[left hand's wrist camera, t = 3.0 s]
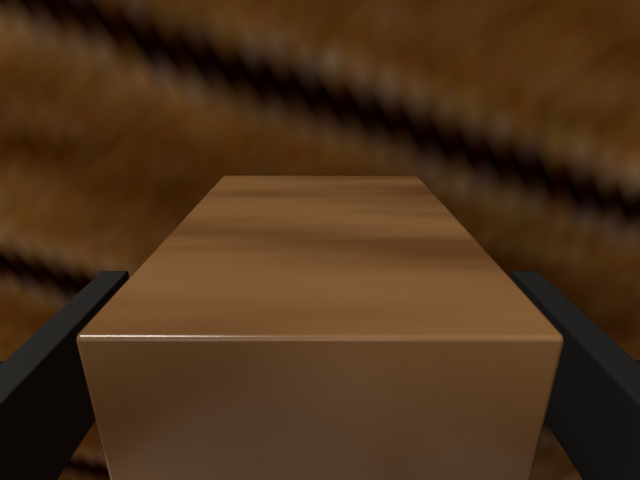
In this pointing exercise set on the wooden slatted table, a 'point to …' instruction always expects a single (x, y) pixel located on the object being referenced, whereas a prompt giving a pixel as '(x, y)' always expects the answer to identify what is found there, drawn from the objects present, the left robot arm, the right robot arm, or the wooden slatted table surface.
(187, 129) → the wooden slatted table surface
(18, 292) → the wooden slatted table surface
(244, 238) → the box
